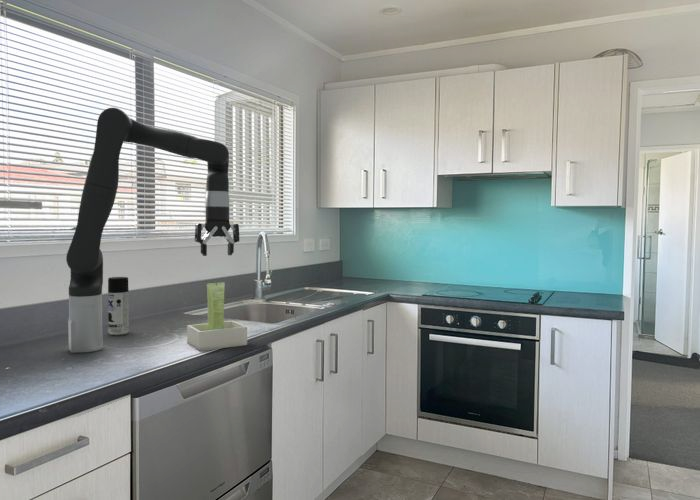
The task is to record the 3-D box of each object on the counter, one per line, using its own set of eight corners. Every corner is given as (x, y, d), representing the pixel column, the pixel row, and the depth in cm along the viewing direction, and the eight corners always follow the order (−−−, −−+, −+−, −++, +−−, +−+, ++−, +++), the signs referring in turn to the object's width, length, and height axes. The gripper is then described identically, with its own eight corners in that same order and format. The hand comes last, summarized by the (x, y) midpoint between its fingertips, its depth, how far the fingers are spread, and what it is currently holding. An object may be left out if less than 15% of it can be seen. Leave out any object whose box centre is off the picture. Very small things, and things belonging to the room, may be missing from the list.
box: (199, 351, 165) (199, 332, 165) (187, 343, 175) (187, 325, 175) (247, 344, 174) (247, 326, 174) (233, 337, 184) (233, 320, 184)
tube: (209, 339, 177) (209, 281, 176) (224, 339, 178) (224, 281, 176) (206, 343, 171) (206, 283, 170) (222, 343, 172) (222, 283, 171)
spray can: (105, 333, 188) (104, 277, 187) (124, 330, 193) (123, 276, 192) (113, 336, 184) (112, 279, 182) (132, 333, 188) (131, 277, 187)
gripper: (199, 204, 165) (199, 256, 166) (242, 206, 173) (242, 255, 174) (192, 205, 171) (192, 255, 172) (234, 206, 179) (233, 254, 180)
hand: (217, 255), depth 173 cm, fingers open, 8 cm apart
